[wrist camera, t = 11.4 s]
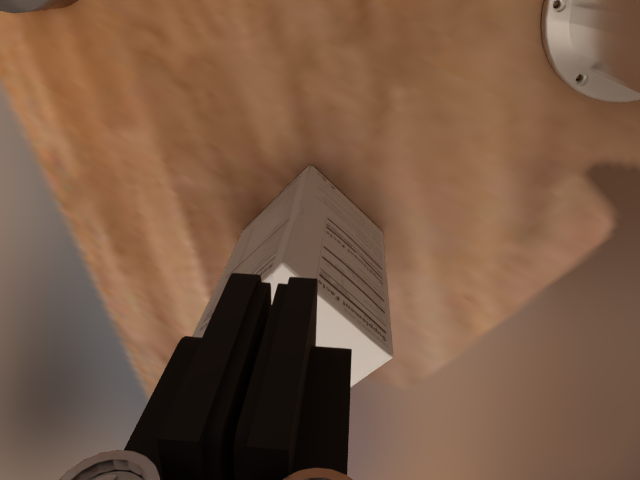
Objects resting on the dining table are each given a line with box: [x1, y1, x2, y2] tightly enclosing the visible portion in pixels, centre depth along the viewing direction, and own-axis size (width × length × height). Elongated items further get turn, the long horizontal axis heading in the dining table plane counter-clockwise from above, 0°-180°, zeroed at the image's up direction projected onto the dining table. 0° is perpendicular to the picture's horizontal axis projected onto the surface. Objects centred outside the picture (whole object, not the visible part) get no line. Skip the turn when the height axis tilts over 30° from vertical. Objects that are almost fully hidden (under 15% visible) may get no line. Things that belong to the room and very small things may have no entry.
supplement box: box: [192, 165, 393, 387], centre depth 38 cm, size 10×9×17 cm
